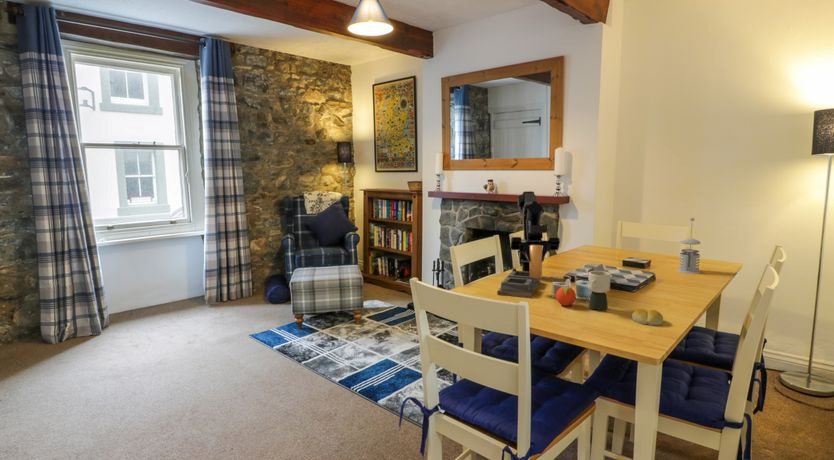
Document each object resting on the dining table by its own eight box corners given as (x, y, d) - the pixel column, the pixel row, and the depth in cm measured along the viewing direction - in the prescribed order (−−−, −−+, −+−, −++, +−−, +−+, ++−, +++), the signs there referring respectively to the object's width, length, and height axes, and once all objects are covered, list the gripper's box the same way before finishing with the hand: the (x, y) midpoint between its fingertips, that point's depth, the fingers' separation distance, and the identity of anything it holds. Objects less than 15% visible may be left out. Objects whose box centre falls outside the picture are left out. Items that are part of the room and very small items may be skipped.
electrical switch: (601, 290, 187) (599, 268, 186) (588, 290, 190) (586, 267, 189) (608, 285, 194) (607, 264, 193) (595, 285, 197) (594, 263, 196)
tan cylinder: (531, 274, 187) (531, 244, 185) (543, 276, 184) (543, 245, 183) (527, 277, 182) (528, 246, 181) (540, 278, 180) (540, 247, 178)
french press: (701, 270, 217) (705, 217, 214) (700, 275, 208) (704, 219, 204) (677, 267, 223) (680, 216, 219) (675, 272, 213) (678, 218, 210)
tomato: (575, 309, 163) (576, 290, 162) (554, 308, 166) (555, 288, 165) (576, 303, 171) (576, 284, 170) (556, 301, 173) (556, 283, 172)
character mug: (595, 303, 170) (596, 268, 168) (614, 307, 165) (616, 271, 163) (581, 310, 163) (582, 274, 161) (601, 314, 158) (602, 277, 156)
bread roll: (633, 316, 156) (634, 304, 156) (663, 320, 152) (664, 308, 151) (629, 323, 150) (630, 311, 149) (661, 328, 145) (661, 315, 144)
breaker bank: (510, 279, 207) (510, 267, 206) (540, 282, 202) (540, 269, 201) (497, 294, 184) (497, 281, 183) (530, 297, 179) (530, 283, 178)
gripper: (511, 217, 185) (512, 249, 176) (559, 216, 183) (563, 249, 173) (510, 233, 194) (511, 265, 185) (556, 233, 191) (559, 265, 182)
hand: (536, 261), depth 181 cm, fingers closed on tan cylinder, 5 cm apart
